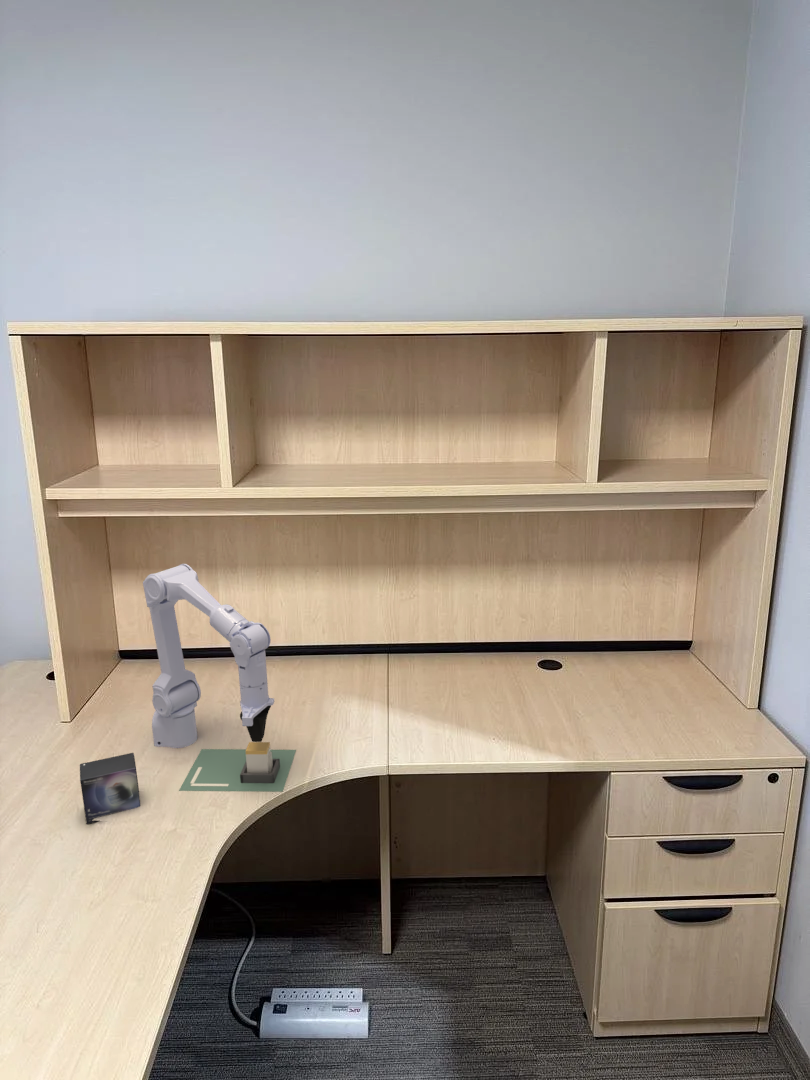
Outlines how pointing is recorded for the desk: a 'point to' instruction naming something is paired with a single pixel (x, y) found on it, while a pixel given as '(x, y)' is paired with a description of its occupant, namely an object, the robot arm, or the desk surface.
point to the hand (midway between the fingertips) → (257, 739)
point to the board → (236, 772)
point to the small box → (109, 786)
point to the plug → (259, 757)
